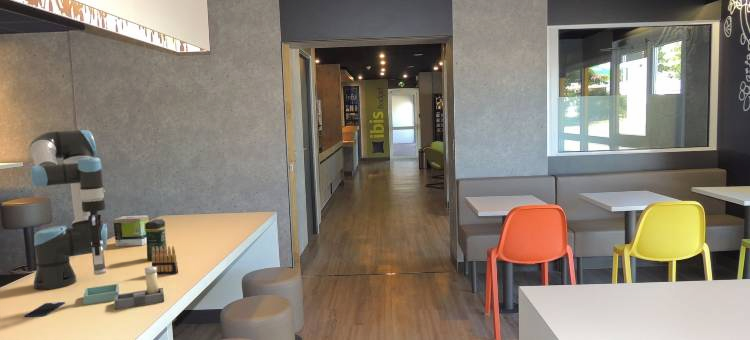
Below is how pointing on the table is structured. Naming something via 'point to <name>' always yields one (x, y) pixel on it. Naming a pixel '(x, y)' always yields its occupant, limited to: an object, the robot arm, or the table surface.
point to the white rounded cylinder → (151, 280)
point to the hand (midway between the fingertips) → (99, 262)
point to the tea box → (130, 230)
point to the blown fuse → (99, 267)
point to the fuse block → (138, 299)
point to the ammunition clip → (164, 261)
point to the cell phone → (44, 309)
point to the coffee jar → (155, 236)
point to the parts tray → (100, 294)
